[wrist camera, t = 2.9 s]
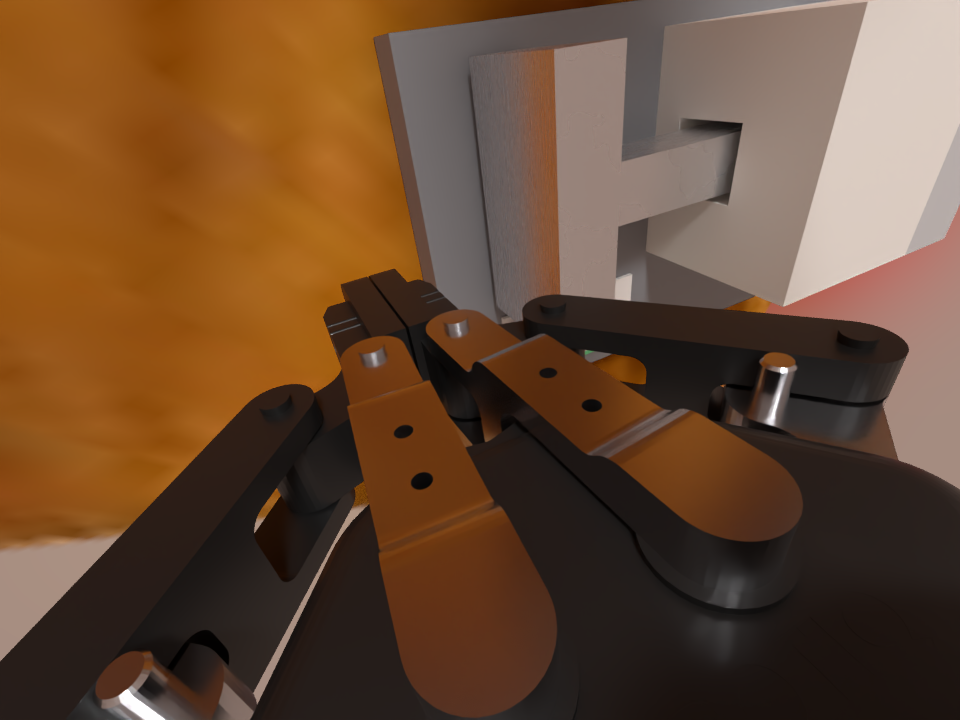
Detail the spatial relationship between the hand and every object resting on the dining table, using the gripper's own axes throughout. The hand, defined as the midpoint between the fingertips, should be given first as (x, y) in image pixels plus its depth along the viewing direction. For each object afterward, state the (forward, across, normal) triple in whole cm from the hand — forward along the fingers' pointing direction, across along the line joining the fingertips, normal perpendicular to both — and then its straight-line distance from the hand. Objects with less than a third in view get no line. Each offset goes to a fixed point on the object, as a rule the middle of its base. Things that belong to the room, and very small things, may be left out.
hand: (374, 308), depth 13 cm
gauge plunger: (+6, -12, +2) cm, 14 cm away
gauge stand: (+9, -15, +2) cm, 18 cm away
